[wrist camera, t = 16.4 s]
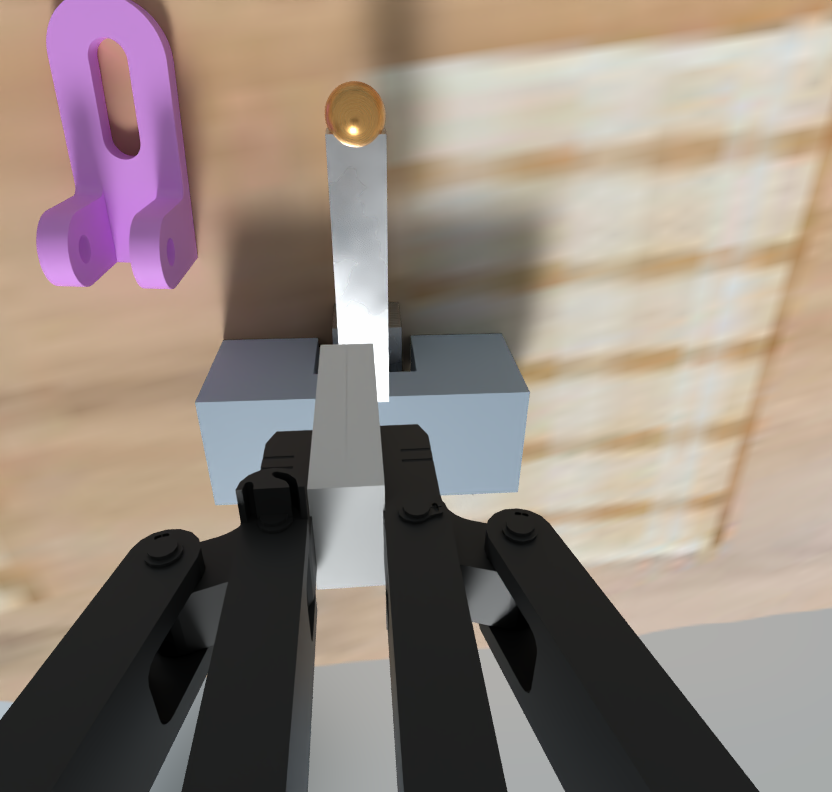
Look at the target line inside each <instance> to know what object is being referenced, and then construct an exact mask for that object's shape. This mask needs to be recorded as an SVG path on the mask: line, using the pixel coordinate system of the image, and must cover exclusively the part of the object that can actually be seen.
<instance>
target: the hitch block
mask: <svg viewBox="0 0 832 792" xmlns="http://www.w3.org/2000/svg"><path fill="white" fill-rule="evenodd" d="M319 357H320V356H319V343H318V338H290V339H247V340H223V342H222V344H221V346H220V348H219V351H218V353H217V355H216V357H215V360H214V362H213V364H212V366H211V368H210V371H209V373H208V375H207V377H206V379H205V382H204V384H203V386H202V388H201V391H200V393H199V395H198V397H197V399H196V402H195V405H196V410H197V415H198V420H199V425H200V430H201V435H202V440H203V445H204V450H205V455H206V460H207V465H208V470H209V475H210V480H211V485H212V490H213V495H214V500H215V505H230V504H238V503H237V497H236V491H235V490H236V488H237V486H238V484H239V483H240V481H242V480H243V479H244V478H245V477H247V476H248V475H250V474H252V473H254V472H257V471H259V470H261V463H262V460H263V454H264V449H265V444H266V443H267V441H268V440H269V439H270V438H271V437H272V436H273V435H274V434H275V433H276V431H299V430H313V421H314V410H315V399H316V389H317V378H318V367H319ZM529 394H530V392H529V390H528V387H527V385H526V383H525V381H524V379H523V377H522V375H521V373H520V371H519V369H518V367H517V365H516V363H515V361H514V358H513V356H512V354H511V352H510V350H509V348H508V346H507V344H506V342H505V340H504V338H503V336H502V334H501V333H500V334H458V335H416V336H411V372H389V402H378V410H379V422H380V426H383V425H407V424H418V425H419V426H420V427H421V428H422V429H423V430H424V431H425V432H426V433H427V434H428V436H429V441H430V446H431V451H432V456H433V461H434V466H435V471H436V476H437V480H438V485H439V490H440V495H460V494H483V493H507V492H518V486H519V478H520V469H521V461H522V453H523V444H524V436H525V428H526V419H527V411H528V403H529Z"/></svg>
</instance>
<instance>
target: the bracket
mask: <svg viewBox="0 0 832 792" xmlns="http://www.w3.org/2000/svg"><path fill="white" fill-rule="evenodd" d="M106 38H110V39H112V40H114V41H116V42H117V43H118V44H119V45H120V46H121V47H122V48H123V49H124V51H125V53H126V55H127V59H128V65H129V71H130V78H131V84H132V91H133V97H134V104H135V110H136V116H137V123H138V129H139V136H140V142H141V147H140V151H139V153H138V154H137V155H136V156H130V155H127V154H124V153H123V152H121V151H120V150H119V149H118V148H117V147H116V146H115V144H114V142H113V140H112V136H111V130H110V125H109V119H108V113H107V108H106V102H105V96H104V91H103V85H102V79H101V74H100V68H99V62H98V56H97V50H98V46H99V44H100V43H101V42H102V41H103V40H104V39H106ZM46 44H47V53H48V58H49V63H50V68H51V72H52V77H53V82H54V87H55V91H56V96H57V101H58V105H59V110H60V115H61V120H62V124H63V129H64V134H65V138H66V143H67V148H68V153H69V157H70V162H71V167H72V171H73V176H74V181H75V187H76V189H75V194H74V196H72V197H70V198H69V199H67V200H65V201H63V202H61V203H59V204H58V205H56V206H54V207H52V208H50V209H48V210H47V211H45V212H44V213H43V214H42V216H41V218H40V220H39V223H38V228H37V238H36V242H37V252H38V258H39V262H40V265H41V268H42V270H43V272H44V274H45V276H46V277H47V279H48V280H49V281H50V282H51V283H52V284H54V285H56V286H82V287H89V286H91V285H93V284H94V283H95V282H96V281H97V280H98V279H99V278H100V277H101V276H102V275H103V274H104V273H106V272H107V271H108V270H109V269H110V268H111V267H112V266H113V265H114V264H115V263H116V262H131V266H132V270H133V274H134V276H135V279H136V281H137V283H138V284H139V285H140V286H141V287H142V288H157V289H174V288H175V287H176V286H177V285H178V283H179V282H180V281H181V279H182V278H183V277H184V275H185V274H186V273H187V271H188V270H189V269H190V267H191V266H192V265H193V263H194V262H195V261H196V259H197V258H198V256H197V248H196V240H195V232H194V223H193V215H192V207H191V199H190V191H189V183H188V174H187V166H186V158H185V150H184V142H183V134H182V126H181V117H180V109H179V101H178V93H177V85H176V77H175V68H174V61H173V55H172V51H171V48H170V45H169V42H168V40H167V38H166V36H165V34H164V32H163V31H162V29H161V27H160V26H159V25H158V23H157V22H156V21H155V19H154V18H153V17H152V16H151V15H150V14H149V13H148V12H147V11H146V10H144V9H143V8H142V7H141V6H139V5H138V4H136V3H135V2H133V1H131V0H64V1H63V2H62V3H61V4H60V5H59V6H58V7H57V8H56V10H55V11H54V13H53V14H52V17H51V19H50V21H49V25H48V29H47V37H46Z"/></svg>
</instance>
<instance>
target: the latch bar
mask: <svg viewBox="0 0 832 792" xmlns="http://www.w3.org/2000/svg"><path fill="white" fill-rule="evenodd" d="M325 120H326V124H327V127H328V128H326V133H325V136H326V152H327V168H328V184H329V200H330V215H331V231H332V247H333V263H334V278H335V294H336V310H337V326H338V342H339V344H367V343H373V348H374V360H375V373H376V385H377V397H378V402H389V350H388V249H387V147H386V129H385V128H384V125H385V120H386V112H385V107H384V103H383V101H382V99H381V97H380V96H379V94H378V93H377V92H376V91H375V90H374V89H373V88H372V87H371V86H369V85H367V84H365V83H362V82H358V81H350V82H346V83H343V84H341V85H339V86H338V87H337V88H335V89H334V90H333V92H332V93H331V94H330V96H329V98H328V100H327V102H326V106H325Z"/></svg>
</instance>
